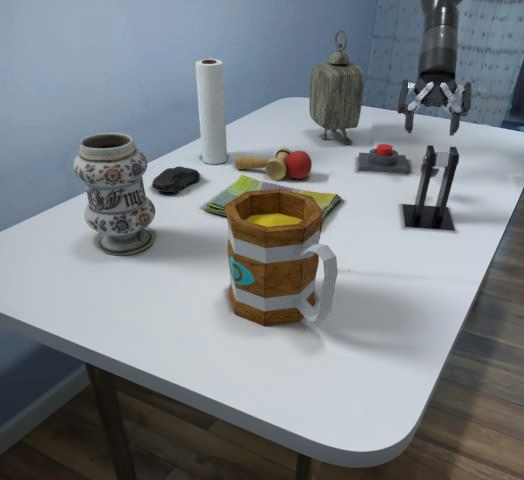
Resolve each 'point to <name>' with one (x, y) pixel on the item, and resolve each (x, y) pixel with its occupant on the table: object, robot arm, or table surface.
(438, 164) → the crank
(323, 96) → the tabletop clock
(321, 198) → the dish towel
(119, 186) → the apothecary jar
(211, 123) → the paper towel roll
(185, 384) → the table surface
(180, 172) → the toy car
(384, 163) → the button box
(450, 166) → the crank bracket
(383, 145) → the button
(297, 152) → the kendama
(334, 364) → the table surface
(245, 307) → the mug
